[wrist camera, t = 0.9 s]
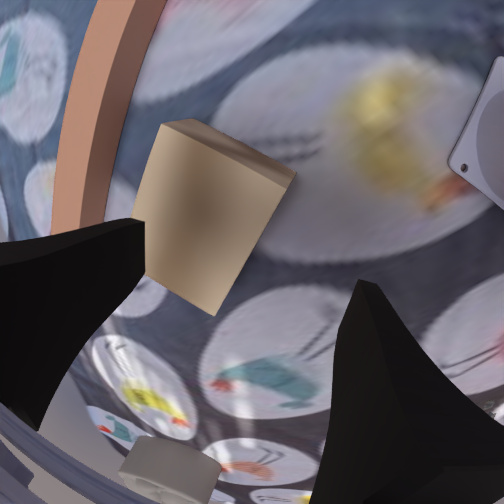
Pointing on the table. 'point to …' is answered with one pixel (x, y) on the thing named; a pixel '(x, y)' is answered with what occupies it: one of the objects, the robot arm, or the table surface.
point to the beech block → (204, 209)
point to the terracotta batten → (99, 109)
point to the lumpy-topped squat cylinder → (169, 472)
